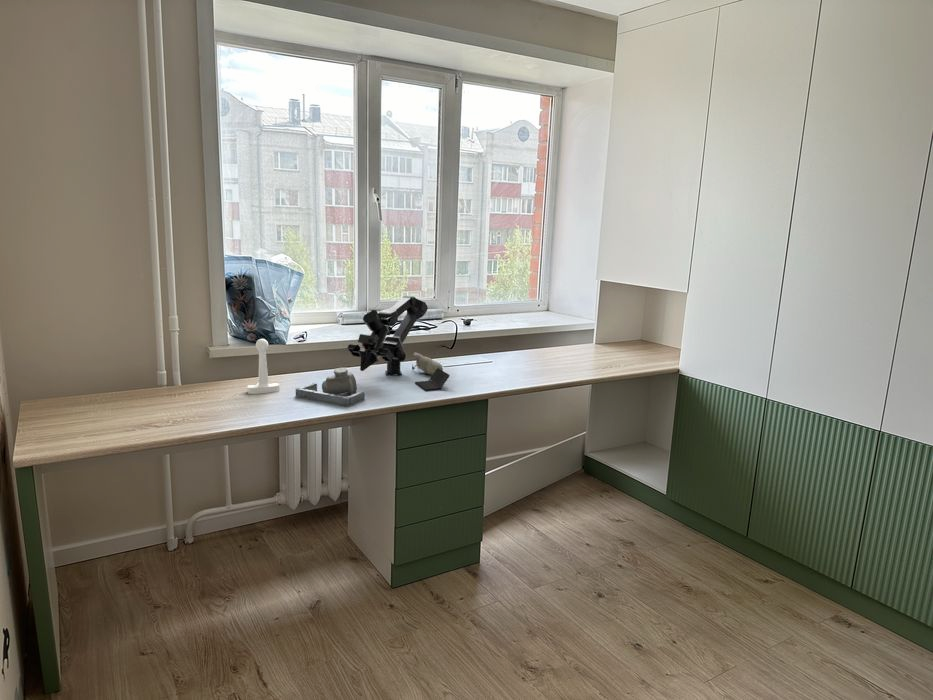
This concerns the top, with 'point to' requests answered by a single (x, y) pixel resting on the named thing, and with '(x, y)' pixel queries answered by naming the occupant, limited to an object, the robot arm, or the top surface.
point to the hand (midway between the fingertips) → (361, 370)
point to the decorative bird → (426, 364)
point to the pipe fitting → (340, 382)
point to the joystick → (262, 372)
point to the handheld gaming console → (434, 381)
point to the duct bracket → (328, 396)
